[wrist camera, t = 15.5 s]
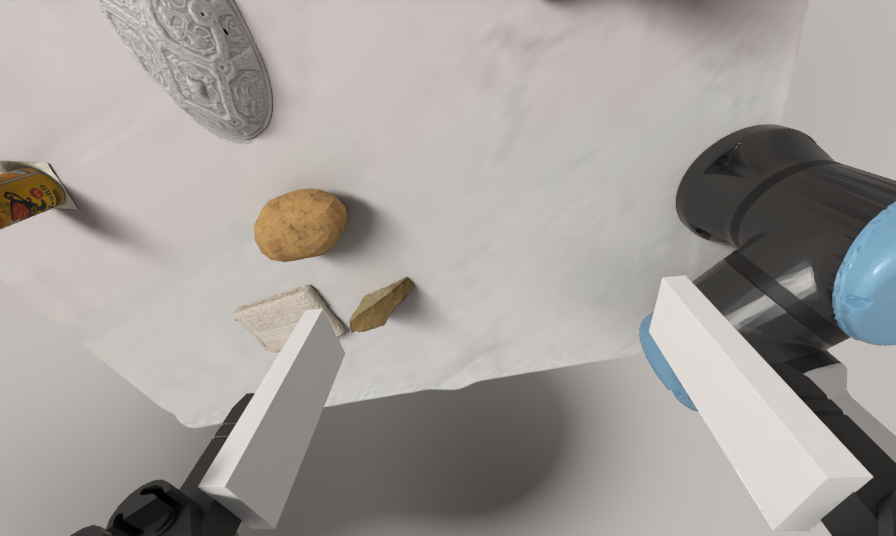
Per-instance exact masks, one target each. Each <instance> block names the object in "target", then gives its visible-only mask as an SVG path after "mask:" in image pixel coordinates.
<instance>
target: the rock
mask: <svg viewBox="0 0 896 536" xmlns="http://www.w3.org/2000/svg"><path fill="white" fill-rule="evenodd" d="M413 288H414V285H413V284H412V283H411V281H410V280H409V279H408V278H407V277H406V278H404V279H401V280H400V281H398V282H396V283H394V284H392V285H390V286H388V287H386V288H382V289H380V290H378V291H375V292H374V293H372V294H369V295H366V296H365V297H364V298H363V299H362V301H361V303H360V306H359V307H358V308H357V310H356V311H355V312H354V314H353V315H352V317H351V319H350V328H351V331H352V333H353V332H355V331H358V332H364V331H368V330H371V329H375V328H377V327H379V326H383V325H385V324H386V322H387V319H388V317H389V315H390V314H391V313H392V312H393V310H394V309H395V308H396V306H397V304H399V303H401V302H402V301H403V300H404V299H405V298H406V296H407V294H408V293H409V292H410V291H411V290H412V289H413Z"/></svg>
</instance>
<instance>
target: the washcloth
mask: <svg viewBox="0 0 896 536" xmlns="http://www.w3.org/2000/svg"><path fill="white" fill-rule="evenodd" d="M322 308H323V309H324V311H325V313H326V315H327V317H328V319H329V322H330V324H331V326H332V328H333V330H334V332H335V334H336V336H337V337H338V336H339V335H341V334H343V332H344V331H345V329H344V327H343V325H342V324H341V322H340V321H339V320H338V319H337V318H336V316H334V315H333V314H332V313H331V312H330V310H329V309H328V308H327V307H326V304H325V302H324V301H323V300H322V299H321V297H320V296H319V295H318V294H317V292H316V291H315V290H314V289H313V288H312V287H311V286H309V285H306V286H304V287H301V288H298V289H294V290H292V291H290V292H286V293H283V294H280V295H276V296H273V297H271V298H269V299H265V300H262V301H260V302H256V303H252V304H250V305H246V306H242V307H239V308H237V311H235V312H234V313H233V315H234V317H235V321H238V322H240V323H241V324H242V325H243V326H244V327H245V328H246V329H247V330H248V331H249V332H250V333H251V334H252V335H253V336H254V337H255V339H256V340H257V341H258V342H259V343H260V344H261V345H262V346H263V347H264V348H265V349H266V350H269V351H270V352H272V353H277V352H281V350H282V348H283V347H284V345H285V343H286V342H287V340H288V338H289V337H290V335H291V334H292V332H293V330H294V329H295V327H296V325H297V324H298V322H299V320H300V319H301V317H302V316H303V314H304V312H305V311H306V310H311V309H322Z"/></svg>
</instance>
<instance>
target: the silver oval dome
mask: <svg viewBox="0 0 896 536" xmlns="http://www.w3.org/2000/svg"><path fill="white" fill-rule="evenodd" d="M96 1H97V3H98V5H99V6H100V8H101V10H102V11H103V12H102V11H101V12H102V13H104V14H105V16H106V17H107V19H108V21H109V22H110V24H111V25H112V27H113V29H114V30H115V32H116V33H117V35H118V36H119V38H120V39H121V40H122V42H123V43H124V45H125V46H126V48H127V49H128V51H129V52H130V54H131V55H132V56H133V57H134V59H135V60H136V61H137V63H138V64H139V65H140V66H141V67H142V69H143V70H144V71H145V72H146V73H147V74H148V75H149V76H150V77H151V78H152V79H153V80H154V81H155V82H156V83H157V84H159V86H160V87H161V88H162V89H163V90H164V91H165V92H167V93H168V94H169V95H170V96H171V97H172V98H173V100H174V102H175V103H176V104H177V105H178V106H179V107H180V108H182V109H183V110H184V111H185V112H186V113H187V114H188V115H189V117H190V118H191V119H192V120H193V121H195V122H196V123H197V124H198V125H200V126H201V127H202V128H203V129H206V130H208V131H209V132H210V133H212V134H213V135H216V136H217V137H218V138H222V139H224V140H226V141H230V142H235V143H239V144H242V143H244V144H249V143H252V142H253V139H254V138H255V137H256V135H257V134H258V133H260V132H261V131H262V130H263V129H264V128H266V127H267V126H268V125H269V123H270V119H271V116H272V109H273V108H272V104H273V103H272V91H271V86H270V82H269V78H268V75H267V71H266V69H265V66H264V63H263V60H262V58H261V55H260V53H259V51H258V49H257V46H256V44H255V42H254V40H253V37H252V35H251V33H250V31H249V29H248V27H247V25H246V23H245V21H244V19H243V17H242V15H241V13H240V12H239V10H238V8H237V6H236V4H235V2H234V0H96ZM201 12H202V13H203V14H204V16H203V15H201ZM224 18H225V19H224ZM223 28H224V29H226V30H227V32H228V34H229V35H227V34H225V33H224V31H223Z"/></svg>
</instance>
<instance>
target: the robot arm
mask: <svg viewBox="0 0 896 536" xmlns="http://www.w3.org/2000/svg"><path fill="white" fill-rule="evenodd" d="M676 209H677V213H678V216H679V218H680V220H681V221H682V223H683V224H684V225H685V226H686V227H688V228H689V229H690V230H691V231H692V232H694V233H695V234H696V235H698V236H700V237H702V238H704V239H707V240H710V241H714V242H717V243H721V244H724V245H728V246H732V247H735V248H738V249H736V250H735V251H734V252H733V253H731V254H730V255H729V256H727V257H726V258H724V259H723V260H721V261H720V262H719V263H717V264H716V265H715V266H713V267H712V268H710V269H709V270H708V271H706V272H705V273H704V274H702V275H701V276H700V277H698V278H697V279H695V280H694V281H693V282H691V281H690V280H689V279H688V278H687V276H686V275H683V276H672V277H662V281H661V285H660V289H659V293H658V297H657V301H656V305H655V309H654V311H653V312H652V313H650V314H649V315H648V316H647V317H645V318H644V320H643V321H642V323H641V325H640V330H639V331H640V334H639V336H640V342H641V345H642V348H643V351H644V353H645V355H646V357H647V359H648V361H649V363H650V365H651V367H652V368H653V370H654V371H655V373H656V374H657V376H658V377H659V379H660V380H661V381H662V383H663V384H664V385H665V387H666V388H667V389H668V390H671V391H672V392H673V394H674V396H675V397H676V398H677V399H678V400H679V401H680V402H681V403H682V404H684V405H685V406H686V407H688V408H690V409H691V410H694V411H698V412H699V413H700V414H701V416H702V418H703V419H704V421H705V423H706V424H707V426H708V427H709V429H710V431H711V432H712V434H713V435H714V437H715V439H716V440H717V442H718V443H719V445H720V447H721V448H722V449H723V451H724V453H725V454H726V456H727V458H728V459H729V461H730V463H731V464H732V466H733V467H734V469H735V471H736V472H737V474H738V475H739V477H740V478H741V480H742V482H743V483H744V485H745V487H746V488H747V490H748V491H749V493H750V495H751V496H752V498H753V500H754V501H755V503H756V504H757V506H758V508H759V509H760V511H761V512H762V514H763V516H764V517H765V519H766V520H767V522H768V524H769V525H770V527H771V528H772V530H773V531H810V530H811V529H812V528H813V527H815V526H816V525H817V524H818V523H819V522H822V523H823V524H824V525H825V527H826V528H827V529H828V531H829V532H830V533H831V535H832V536H896V436H895V435H894V434H892V433H891V432H890V431H889V430H888V429H887V428H886V427H884V426H883V425H882V424H881V423H880V422H879V421H878V420H877V419H876V418H874V417H873V416H872V415H871V414H870V413H869V412H868V411H867V410H865V409H864V408H863V407H862V406H861V405H860V404H859V403H857V402H856V401H855V400H854V399H853V398H852V397H851V396H850V394H849V393H848V391H847V390H846V388H847V368H846V367H845V366H844V364H842V363H841V362H840V361H838V360H837V359H836V358H835V357H834V356H832V355H831V354H830V353H829V352H828V351H827V349H828V348H830V347H832V346H834V345H836V344H838V343H840V342H842V341H844V340H846V339H848V338H850V337H852V338H853V339H855V340H860V341H863V342H866V343H869V344H873V345H896V181H895V180H892V179H889V178H885V177H882V176H879V175H876V174H873V173H870V172H866V171H863V170H860V169H857V168H853V167H850V166H847V165H844V164H841V163H838V162H835V161H834V160H833V159H832V158H831V157H830V156H829V155H828V154H827V153H826V152H825V151H823V149H821V148H820V147H819V146H818V145H817V144H816V142H815V141H814V140H813V139H812V138H811V137H810V136H808V135H806V134H805V133H803V132H801V131H798V130H795V129H791V128H788V127H784V126H780V125H769V124H768V125H757V126H752V127H748V128H745V129H742V130H739V131H736V132H734V133H732V134H730V135H728V136H726V137H724V138H722V139H721V140H719V141H718V142H716V143H715V144H713V145H712V146H710V147H709V148H708V149H707V150H706V151H704V152H703V153H702V154H701V155H700V156H699V157H698V158H697V159H696V160H695V161H694V163H693V164H692V165H691V166H690V168H689V169H688V170H687V172H686V173H685V175H684V177H683V179H682V181H681V183H680V185H679V188H678V191H677V196H676ZM344 355H345V352H344V350H343V348H342V346H341V344H340V342H339V340H338V338H337V336H336V334H335V332H334V330H333V328H332V326H331V324H330V322H329V319H328V317H327V315H326V313H325V311H324V309H323V308H322V309H311V310H306V311H305V312H304V314H303V316H302V317H301V319H300V320H299V322H298V324H297V325H296V327H295V329H294V330H293V332H292V334H291V335H290V337H289V338H288V340H287V342H286V343H285V345H284V347H283V348H282V350H281V352H280V353H279V355H278V356H277V358H276V360H275V361H274V363H273V365H272V366H271V368H270V370H269V371H268V373H267V374H266V376H265V378H264V379H263V381H262V383H261V384H260V386H259V388H258V389H257V391H256V392H255V393H250V394H246V395H245V396H244V397H243V398H242V399H241V400H240V401H239V402H238V403H237V404H236V405H235V406H234V407H233V408H232V410H231V411H230V413H229V414H228V416H227V417H226V419H225V420H224V422H223V426H221V427H220V428H219V430H218V431H217V433H216V434H215V438H214V439H212V440H211V442H210V444H209V445H208V447H207V448H206V450H205V451H204V453H203V454H202V456H201V458H200V459H199V461H198V462H197V464H196V465H195V467H194V468H193V470H192V471H191V473H190V474H189V476H188V477H187V479H186V481H185V482H184V484H183V485H182V487H181V488H180V489H179V490H178V489H177V488H175V487H174V486H172V485H171V484H170V483H168V482H166V481H164V480H155V481H151V482H149V483H147V484H145V485H143V486H141V487H140V488H138V489H137V490H135V491H134V492H133V493H131V494H130V495H129V496H128V497H127V498H126V499H125V500H124V501H123V502H122V503H121V504H120V505H119V506H118V508H117V509H116V510H115V512H114V514H113V515H112V516H111V518H110V520H109V522H108V525H107V528H106V529H104V528H102V527H100V526H95V525H92V526H89V527H85V528H83V529H81V530H79V531H77V532H76V533H74V534H72V535H71V536H238V533H237V532H236V531H237V529H238V527H239V525H240V523H241V521H242V522H243V523H245V524H246V525H247V526H249V527H250V528H251V529H275V527H276V525H277V522H278V520H279V517H280V515H281V512H282V510H283V507H284V505H285V502H286V500H287V497H288V495H289V492H290V490H291V487H292V485H293V482H294V480H295V477H296V475H297V472H298V470H299V467H300V465H301V462H302V460H303V457H304V455H305V452H306V450H307V447H308V445H309V442H310V440H311V437H312V435H313V432H314V430H315V427H316V425H317V422H318V420H319V417H320V415H321V412H322V410H323V407H324V405H325V402H326V400H327V397H328V395H329V392H330V390H331V387H332V385H333V382H334V380H335V377H336V375H337V372H338V370H339V367H340V365H341V362H342V360H343V357H344Z"/></svg>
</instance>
